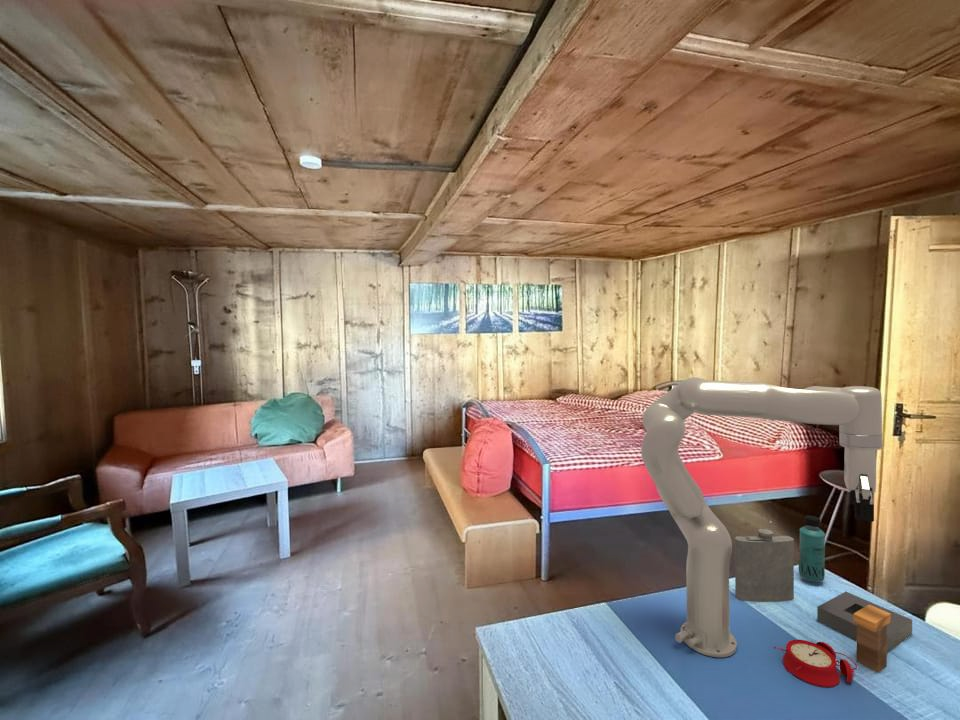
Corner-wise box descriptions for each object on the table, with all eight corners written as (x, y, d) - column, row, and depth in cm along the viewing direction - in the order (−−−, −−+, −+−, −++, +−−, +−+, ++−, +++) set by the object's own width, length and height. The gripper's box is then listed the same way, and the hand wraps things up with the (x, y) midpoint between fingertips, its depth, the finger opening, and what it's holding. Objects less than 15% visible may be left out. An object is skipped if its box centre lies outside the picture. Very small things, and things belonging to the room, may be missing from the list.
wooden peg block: (874, 675, 98) (875, 623, 97) (852, 664, 101) (853, 613, 101) (890, 664, 101) (890, 613, 100) (868, 653, 105) (869, 604, 104)
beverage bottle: (793, 577, 137) (793, 514, 136) (808, 573, 139) (809, 511, 138) (814, 589, 131) (815, 523, 129) (830, 584, 132) (831, 519, 131)
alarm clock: (767, 639, 105) (829, 624, 105) (773, 664, 106) (835, 649, 105) (798, 673, 95) (867, 656, 95) (805, 700, 95) (873, 683, 95)
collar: (884, 654, 104) (884, 638, 104) (817, 621, 116) (817, 606, 116) (912, 635, 110) (912, 619, 110) (845, 605, 123) (845, 591, 122)
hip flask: (789, 593, 129) (789, 527, 128) (798, 602, 125) (798, 533, 124) (733, 594, 130) (732, 527, 128) (740, 602, 125) (740, 534, 124)
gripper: (836, 431, 111) (837, 497, 112) (842, 447, 97) (844, 523, 98) (876, 433, 107) (877, 502, 108) (888, 450, 93) (890, 530, 94)
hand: (861, 512), depth 103 cm, fingers open, 9 cm apart
